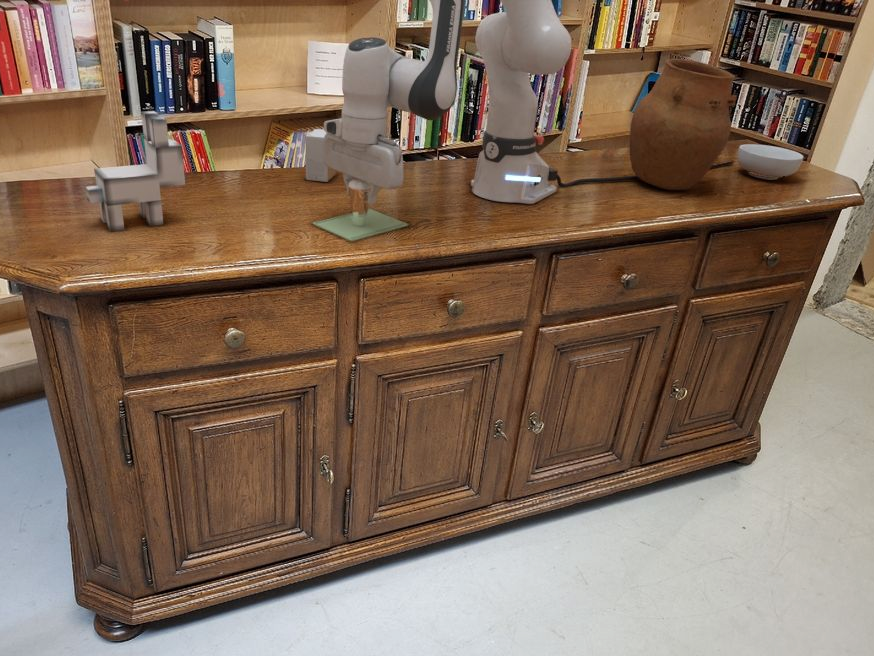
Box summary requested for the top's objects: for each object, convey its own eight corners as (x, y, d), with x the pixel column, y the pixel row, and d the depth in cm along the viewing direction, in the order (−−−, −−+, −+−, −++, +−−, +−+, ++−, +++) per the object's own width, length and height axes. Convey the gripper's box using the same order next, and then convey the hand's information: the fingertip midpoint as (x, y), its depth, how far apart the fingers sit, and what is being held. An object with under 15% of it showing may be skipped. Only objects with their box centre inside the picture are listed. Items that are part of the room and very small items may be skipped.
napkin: (369, 210, 162) (369, 208, 162) (408, 225, 155) (408, 223, 155) (312, 224, 152) (312, 222, 152) (351, 242, 145) (351, 239, 145)
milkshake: (377, 223, 154) (379, 175, 149) (359, 229, 150) (360, 180, 145) (361, 217, 156) (362, 170, 151) (343, 223, 153) (343, 175, 148)
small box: (327, 183, 177) (328, 138, 172) (305, 180, 178) (304, 135, 173) (336, 174, 184) (337, 130, 179) (315, 171, 185) (315, 128, 180)
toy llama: (88, 220, 146) (71, 115, 135) (176, 210, 154) (167, 110, 144) (97, 233, 140) (80, 124, 130) (188, 221, 149) (179, 118, 139)
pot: (701, 206, 181) (737, 75, 166) (606, 185, 191) (632, 60, 176) (721, 184, 199) (755, 65, 184) (633, 167, 209) (659, 52, 194)
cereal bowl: (808, 184, 205) (817, 159, 201) (756, 185, 201) (765, 158, 198) (769, 167, 219) (777, 143, 215) (720, 167, 215) (727, 142, 212)
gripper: (413, 139, 140) (408, 210, 147) (342, 117, 152) (340, 184, 159) (389, 143, 136) (385, 216, 143) (318, 121, 148) (317, 189, 155)
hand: (361, 199), depth 151 cm, fingers closed on milkshake, 4 cm apart
